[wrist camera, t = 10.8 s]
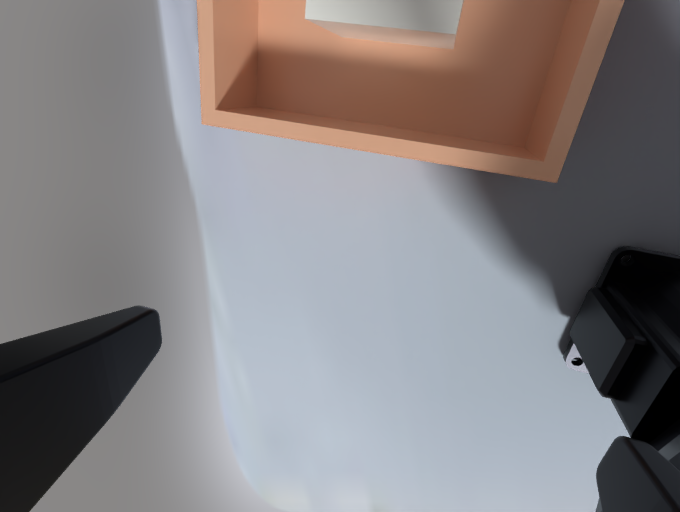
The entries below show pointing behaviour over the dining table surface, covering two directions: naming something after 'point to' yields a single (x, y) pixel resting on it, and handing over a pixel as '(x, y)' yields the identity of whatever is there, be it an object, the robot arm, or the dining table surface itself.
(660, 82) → the dining table surface
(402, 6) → the grey block
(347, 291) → the dining table surface
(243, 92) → the terracotta bin
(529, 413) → the dining table surface
